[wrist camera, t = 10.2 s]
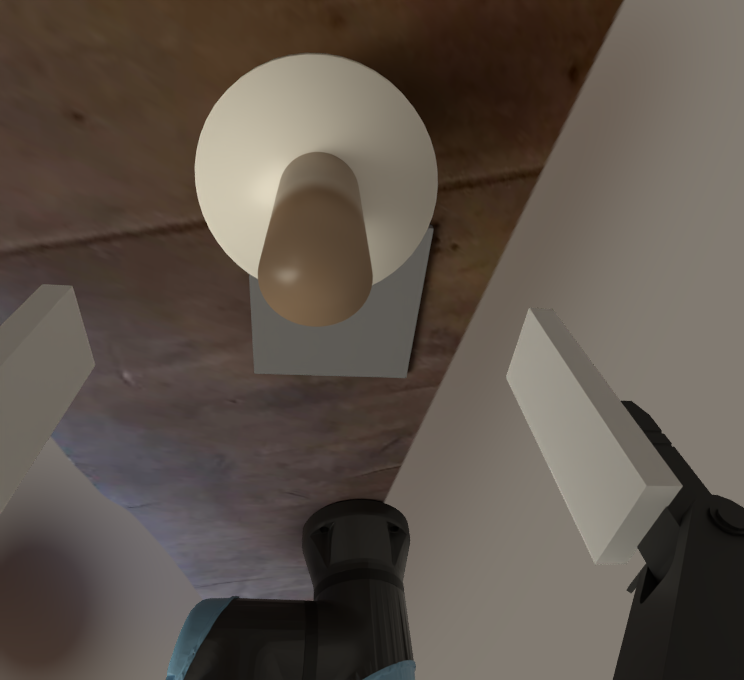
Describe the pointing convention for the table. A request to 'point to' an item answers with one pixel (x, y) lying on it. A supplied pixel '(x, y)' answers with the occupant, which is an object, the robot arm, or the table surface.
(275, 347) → the mat
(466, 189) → the table surface
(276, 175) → the lid
